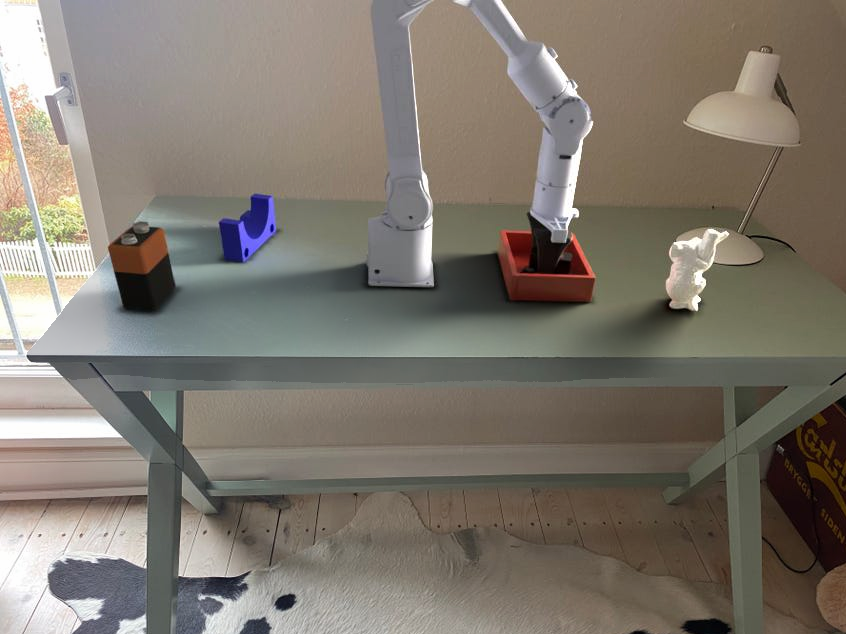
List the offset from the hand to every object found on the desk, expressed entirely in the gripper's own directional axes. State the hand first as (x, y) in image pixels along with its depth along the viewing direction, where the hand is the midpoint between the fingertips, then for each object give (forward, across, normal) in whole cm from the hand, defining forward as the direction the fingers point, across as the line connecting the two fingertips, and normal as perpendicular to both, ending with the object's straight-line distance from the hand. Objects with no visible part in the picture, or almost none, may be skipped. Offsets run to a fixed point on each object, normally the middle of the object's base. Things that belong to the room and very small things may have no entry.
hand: (542, 266), depth 102 cm
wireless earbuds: (+1, 0, 0) cm, 1 cm away
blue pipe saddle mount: (+2, +8, +46) cm, 47 cm away
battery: (+2, -10, +55) cm, 56 cm away
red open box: (+2, 0, 0) cm, 2 cm away
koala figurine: (+2, -8, -20) cm, 22 cm away
